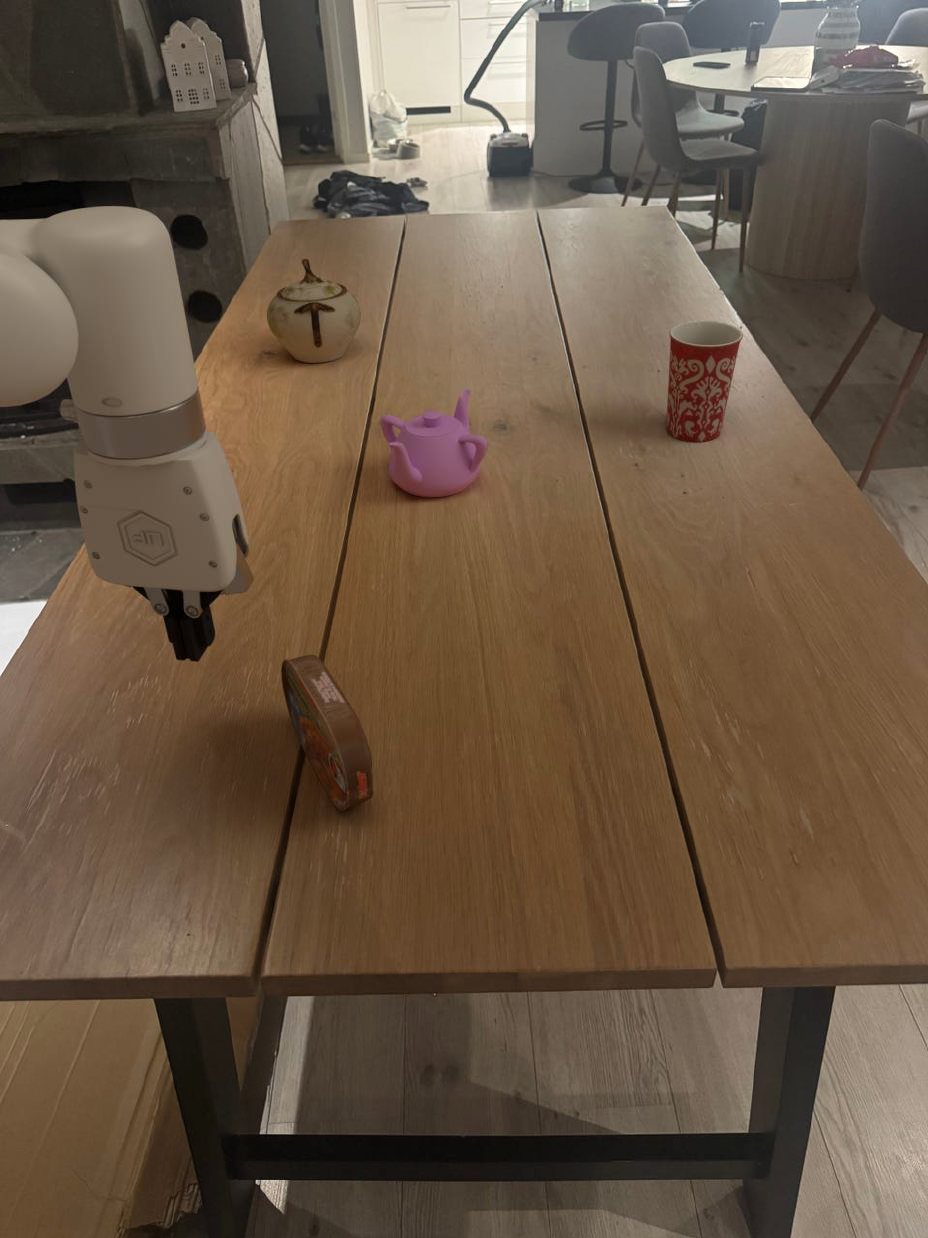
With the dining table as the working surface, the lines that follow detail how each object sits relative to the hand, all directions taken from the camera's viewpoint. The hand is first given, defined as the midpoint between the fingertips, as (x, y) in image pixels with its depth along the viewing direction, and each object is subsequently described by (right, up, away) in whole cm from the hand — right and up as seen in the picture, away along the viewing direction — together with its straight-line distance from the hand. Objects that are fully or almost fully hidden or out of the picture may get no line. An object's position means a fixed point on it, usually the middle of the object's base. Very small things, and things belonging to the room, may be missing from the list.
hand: (195, 649), depth 69 cm
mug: (+51, +29, +57) cm, 81 cm away
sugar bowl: (-4, +46, +83) cm, 95 cm away
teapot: (+17, +20, +47) cm, 54 cm away
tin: (+9, -10, +8) cm, 16 cm away
